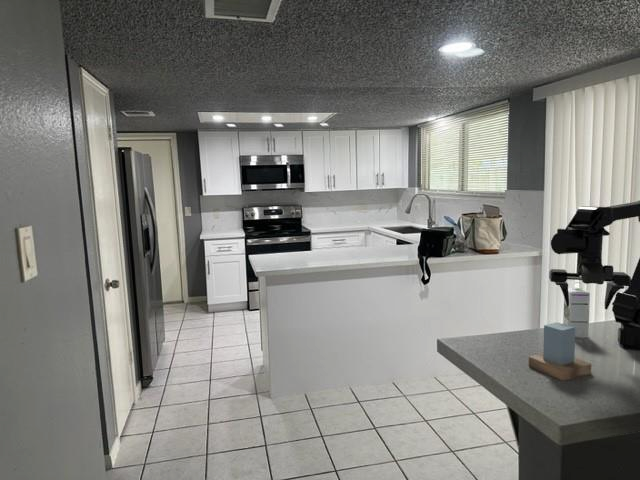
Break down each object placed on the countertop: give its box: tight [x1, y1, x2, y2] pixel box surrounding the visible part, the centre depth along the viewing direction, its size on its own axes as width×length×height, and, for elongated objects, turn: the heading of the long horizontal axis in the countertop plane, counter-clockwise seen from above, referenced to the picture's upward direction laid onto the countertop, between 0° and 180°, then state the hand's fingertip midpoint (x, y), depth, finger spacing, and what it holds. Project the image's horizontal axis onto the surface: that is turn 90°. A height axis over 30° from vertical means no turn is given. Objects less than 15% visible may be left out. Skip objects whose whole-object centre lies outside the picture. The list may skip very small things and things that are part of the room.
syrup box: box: [562, 287, 591, 339], centre depth 137 cm, size 6×6×14 cm
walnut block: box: [528, 353, 592, 381], centre depth 112 cm, size 10×10×3 cm
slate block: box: [542, 322, 576, 366], centre depth 111 cm, size 5×5×9 cm
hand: (586, 307), depth 122 cm, fingers open, 9 cm apart
